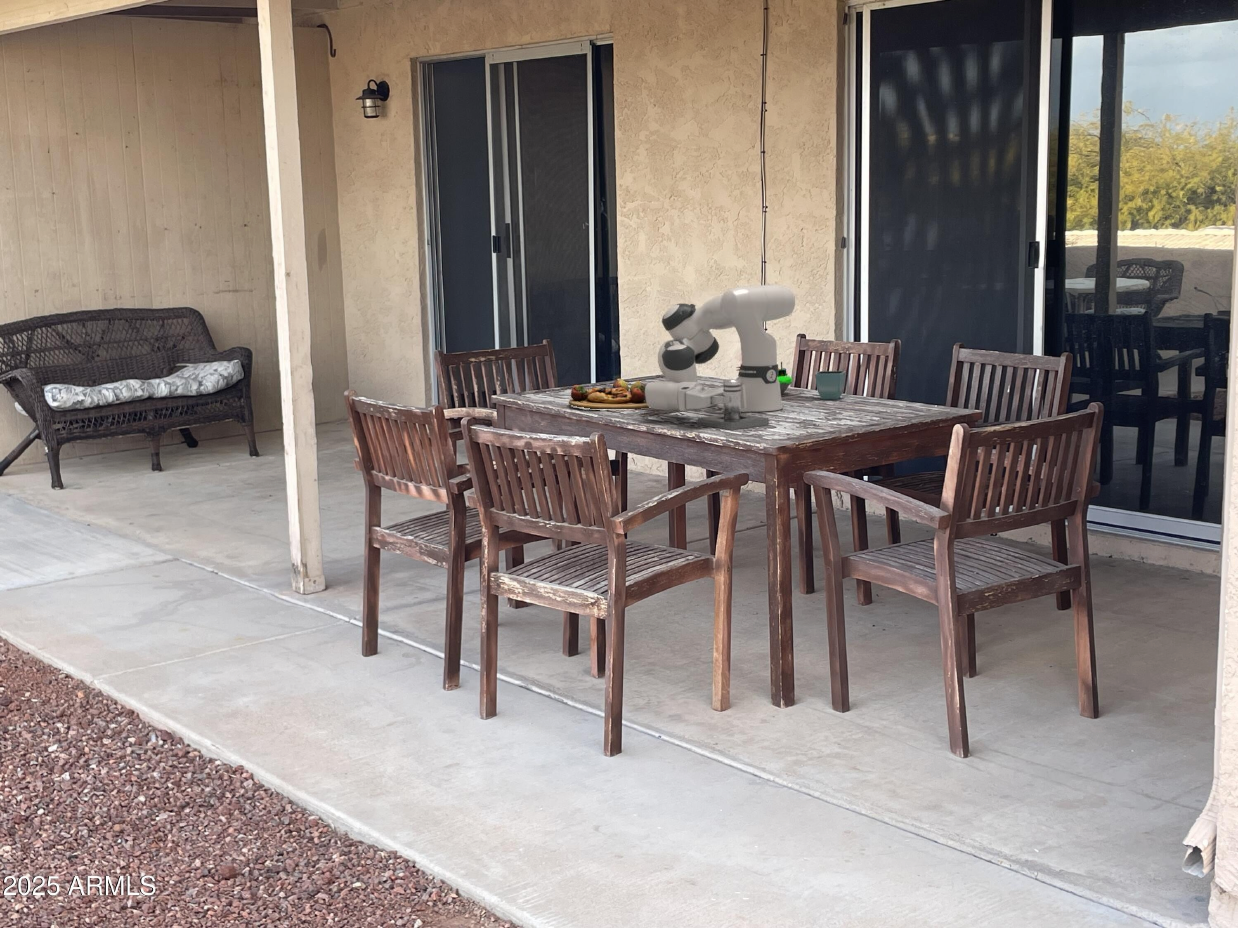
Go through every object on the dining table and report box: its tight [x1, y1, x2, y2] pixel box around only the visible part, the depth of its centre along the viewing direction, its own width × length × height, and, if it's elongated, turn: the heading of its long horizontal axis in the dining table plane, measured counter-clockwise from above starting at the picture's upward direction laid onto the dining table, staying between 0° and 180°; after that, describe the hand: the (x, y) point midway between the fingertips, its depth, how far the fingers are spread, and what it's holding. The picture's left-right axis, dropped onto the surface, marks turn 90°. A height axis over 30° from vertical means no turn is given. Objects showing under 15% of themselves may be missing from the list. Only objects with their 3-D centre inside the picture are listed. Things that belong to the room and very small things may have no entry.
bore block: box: [696, 413, 770, 431], centre depth 406 cm, size 16×14×2 cm
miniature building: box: [777, 361, 793, 395], centre depth 473 cm, size 12×12×11 cm
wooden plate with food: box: [568, 378, 650, 409], centre depth 460 cm, size 32×32×8 cm
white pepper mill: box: [722, 378, 742, 420], centre depth 405 cm, size 5×5×12 cm
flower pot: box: [814, 370, 847, 401], centre depth 456 cm, size 9×9×9 cm
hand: (734, 398), depth 405 cm, fingers closed on white pepper mill, 5 cm apart
